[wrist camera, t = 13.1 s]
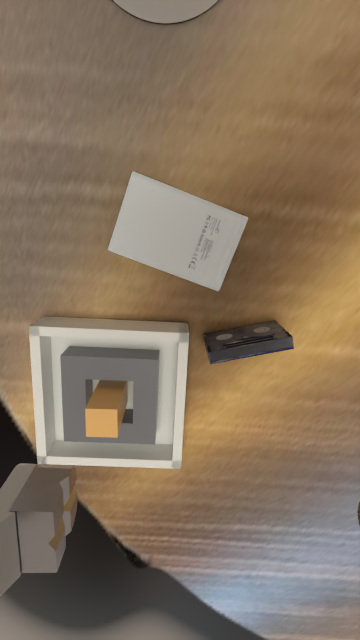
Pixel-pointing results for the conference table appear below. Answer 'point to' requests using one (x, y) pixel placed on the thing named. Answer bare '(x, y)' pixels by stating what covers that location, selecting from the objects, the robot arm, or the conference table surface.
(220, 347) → the mini dv tape
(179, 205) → the external hard drive
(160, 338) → the walled box
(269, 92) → the conference table surface
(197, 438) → the conference table surface
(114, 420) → the tan rectangular block
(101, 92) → the conference table surface
